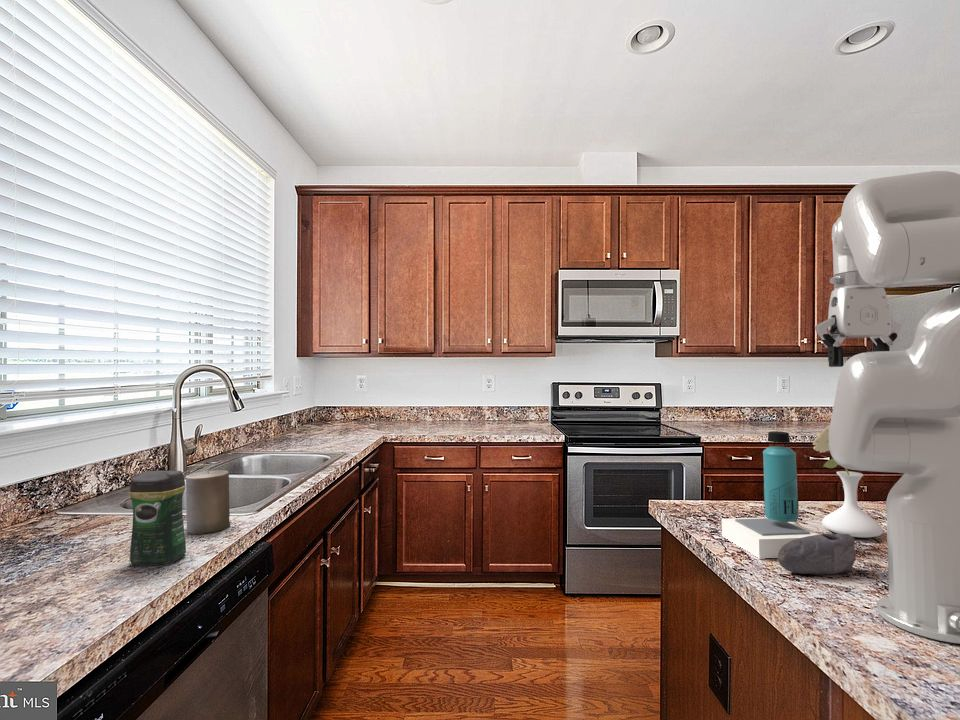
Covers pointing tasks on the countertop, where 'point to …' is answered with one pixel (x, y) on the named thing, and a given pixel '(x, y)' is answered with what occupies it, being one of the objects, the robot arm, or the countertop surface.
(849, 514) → the flower in vase
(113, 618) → the countertop surface
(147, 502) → the coffee jar
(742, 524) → the white picture frame
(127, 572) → the countertop surface
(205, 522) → the pillar candle
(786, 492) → the beverage bottle
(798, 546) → the perforated stone tool
